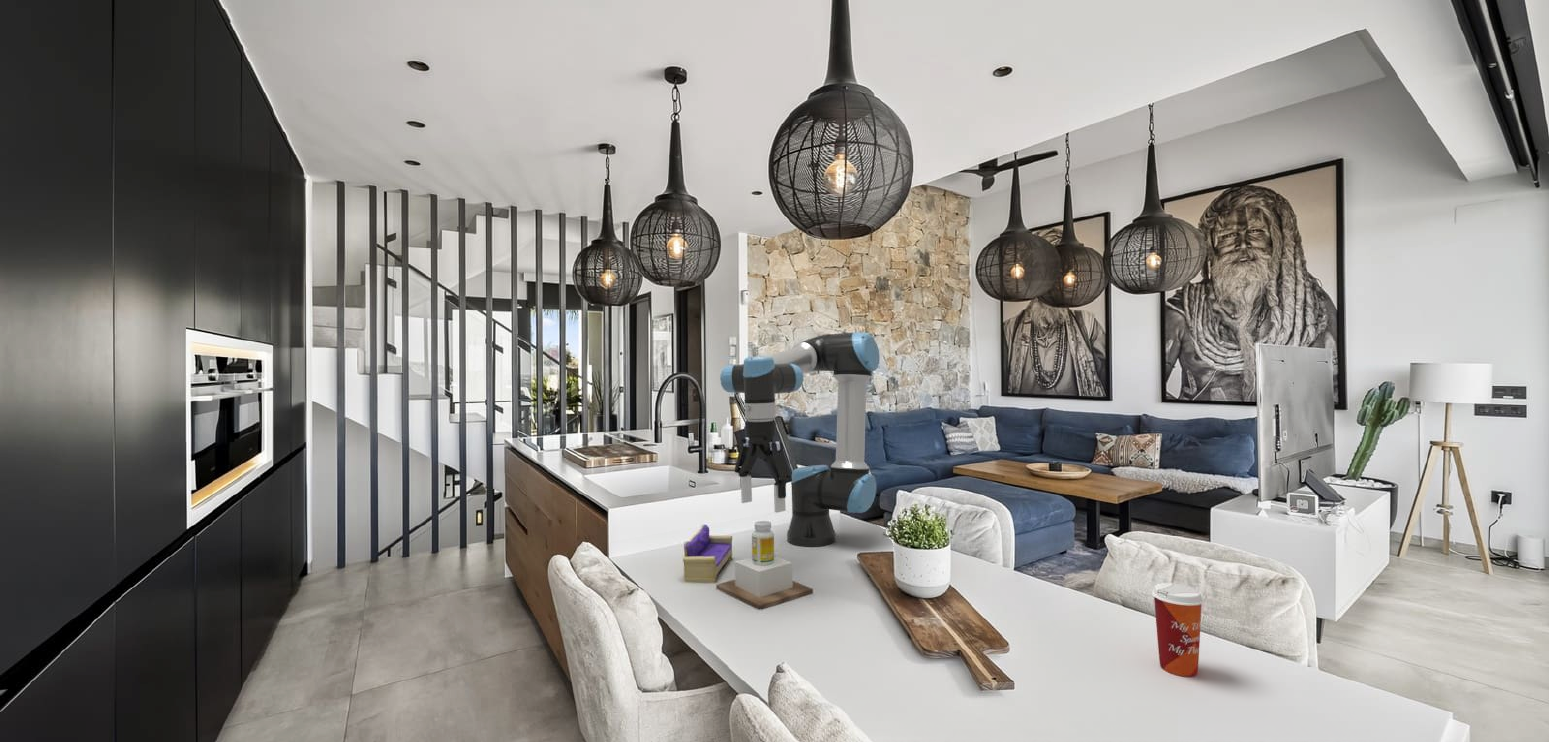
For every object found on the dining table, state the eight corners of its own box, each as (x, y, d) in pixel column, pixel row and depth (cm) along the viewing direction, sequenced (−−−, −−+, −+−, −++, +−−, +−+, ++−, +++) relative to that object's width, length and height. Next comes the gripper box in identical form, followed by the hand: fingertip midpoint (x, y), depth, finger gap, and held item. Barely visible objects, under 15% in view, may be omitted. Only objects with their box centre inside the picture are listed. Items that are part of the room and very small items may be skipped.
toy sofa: (715, 584, 159) (715, 544, 159) (682, 583, 160) (682, 543, 160) (733, 559, 180) (732, 523, 180) (704, 558, 181) (703, 523, 181)
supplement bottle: (748, 564, 152) (747, 524, 152) (758, 557, 157) (757, 519, 157) (769, 566, 149) (768, 526, 149) (777, 560, 154) (777, 521, 154)
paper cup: (1181, 683, 105) (1179, 600, 105) (1142, 662, 113) (1141, 585, 113) (1216, 675, 108) (1215, 594, 108) (1176, 656, 115) (1175, 580, 115)
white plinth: (767, 577, 160) (767, 553, 160) (792, 587, 152) (792, 562, 152) (735, 586, 154) (734, 561, 154) (759, 597, 146) (759, 571, 146)
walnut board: (767, 574, 165) (767, 570, 165) (812, 593, 151) (812, 589, 151) (716, 588, 155) (716, 584, 155) (759, 610, 141) (759, 605, 141)
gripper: (719, 418, 160) (722, 501, 161) (779, 424, 141) (782, 518, 141) (743, 416, 165) (746, 496, 165) (805, 421, 145) (807, 512, 146)
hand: (762, 506), depth 153 cm, fingers open, 13 cm apart
